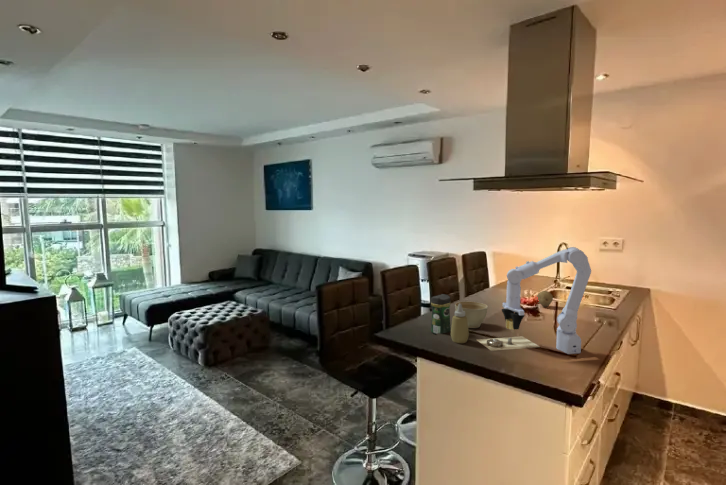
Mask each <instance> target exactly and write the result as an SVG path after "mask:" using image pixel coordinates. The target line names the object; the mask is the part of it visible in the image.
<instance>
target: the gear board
mask: <svg viewBox="0 0 726 485" xmlns="http://www.w3.org/2000/svg"><path fill="white" fill-rule="evenodd" d="M490 339H498V340H500V341H503V347H500V348H498V347H491V346H488V345H487V340H490ZM476 341H477V342H479V343H480V344H481V345H483V346H484V347H486V349H488V350H489V351H491V352H493V351H504V350H506V351H507V350H517V349H532V348H541V346H539V344H537V343H535V342H533V341H531V340H530V339H528V338H526V337H524V336H523V335H522V336H521V335H520V336H511V337H510V336H509V337H494V338H482V339H481V338H479V339H476Z"/></svg>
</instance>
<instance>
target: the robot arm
mask: <svg viewBox="0 0 726 485" xmlns="http://www.w3.org/2000/svg"><path fill="white" fill-rule="evenodd" d="M568 262H569V263H570V264H571V265H572V266H573V268H574V269H575V271H576V274H575V277H574V279H573V283H572V285H571V289H570V290H569V294H568V297H567V300H566V303H565V306H564V307H563V308H562V310H561V313H559V314H558V315H557V317H556V321H557V324H558V327H557V328H556V341H555V342H556V344H555V347H556V349H557V350H558V351H561V352H563V353H565V354H567V355H573V354H574V355H575V354H581V353H582V352H581V350H582V338H581V337H580V335H578V333H577V327H578V324H577V319H578V311H579V309H580V305H581V302H582V299H583V297H584V294H585V291H586V288H587V285H588V283H589V280H590V277H591V274H592V268H591V266H590V262H589V257H588V256H587V255H586V253H585V252H584V251H582V250H580V249H579V248H577V247H576V246H570V247H568V248H567V249H566V248H565V249H561V250H559V251H557V252H555V253H553V254H551V255H549V256H547V257H545V258H543V259H540V260H538V261H533V260H531V261H529V260H528V261H526V262H525V263H524V264H522V265H519V266H515V268H511V269H509V270H508V271H507V273H506V278H507V282H506V297H505V298H506V300H505V301H506V302H502V309H501V312H502V314H503V316H504V320H505V322H506V319H509V318H511V319H512V321H513V329H514V331H516V330H515V329H517V330H519V329H520V326H521V323H522V321H523V319H524V317H525V315H526V314H525V310H524V309H523V308H522V307H521V289H522V288H521V282H522V280H525V279H528V278H530V277H533V276H534V275H538V274H539V271H540V270H541V269H543V268H547V267H549V266H551V265H554V264H556V263H566V264H568Z"/></svg>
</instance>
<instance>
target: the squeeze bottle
mask: <svg viewBox="0 0 726 485" xmlns="http://www.w3.org/2000/svg"><path fill="white" fill-rule="evenodd" d="M450 327H451V331H450V338H451V340H452V342H453V343H456V344H465V343H468V339H469V336H470V333H469V328H468V320H467V317H466V316H465V312H464V311H463V309H462V304H459V305H458V309H457V311H456V310H455V311H454V315H453V316H452V319H451V325H450Z"/></svg>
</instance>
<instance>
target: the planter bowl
mask: <svg viewBox="0 0 726 485" xmlns="http://www.w3.org/2000/svg"><path fill="white" fill-rule="evenodd" d="M459 304H462V309H463V311H464V312H465V316H466V317H467V320H468V329H478V328H480V327H481V325H482V323H483V322H484V320H485V319H486V316H487V311H488V309H489V308H488V305H487V304H485V303H482V302H478V301H458V302H456V303H455V304H454V307H455V311H457V309H458V305H459Z"/></svg>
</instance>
